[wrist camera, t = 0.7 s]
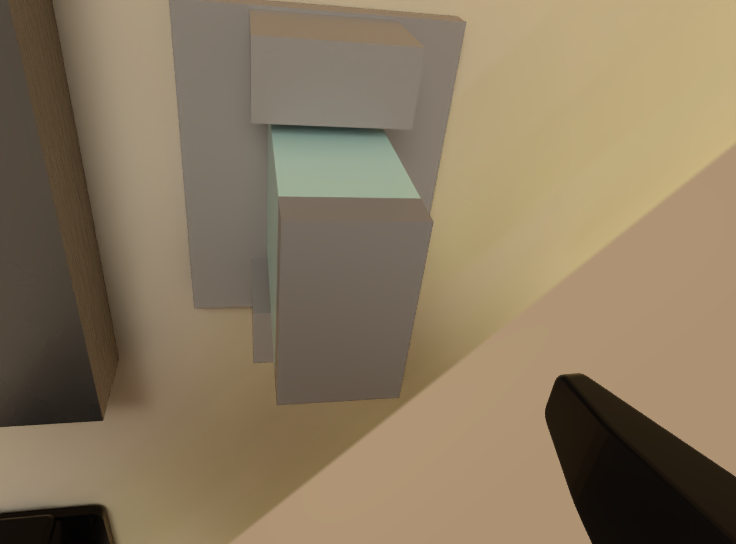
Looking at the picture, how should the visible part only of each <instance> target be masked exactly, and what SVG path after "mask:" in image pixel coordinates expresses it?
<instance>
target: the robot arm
mask: <svg viewBox="0 0 736 544" xmlns="http://www.w3.org/2000/svg"><path fill="white" fill-rule="evenodd" d="M545 418H546V422H547V426H548V429H549V432H550V435H551V437H552V440H553V443H554V446H555V449H556V452H557V455H558V458H559V461H560V464H561V467H562V470H563V473H564V476H565V479H566V482H567V485H568V488H569V491H570V493H571V496H572V499H573V501H574V504H575V507H576V509H577V511H578V514H579V516H580V518H581V520H582V523H583V525H584V527H585V529H586V531H587V534H588V536H589V538H590V540H591V542H592V544H736V477H735V476H734V475H732V474H731V473H729V472H728V471H726V470H725V469H723V468H722V467H720V466H719V465H718V464H716V463H715V462H713V461H712V460H710V459H708V458H707V457H706V456H704V455H703V454H701V453H700V452H698V451H697V450H695V449H694V448H692V447H691V446H689V445H688V444H686V443H685V442H683V441H682V440H681V439H679V438H678V437H676V436H675V435H673V434H672V433H670V432H669V431H667V430H666V429H664V428H663V427H661V426H660V425H658V424H657V423H655V422H654V421H652V420H651V419H649V418H648V417H647V416H645V415H643V414H642V413H641V412H639V411H638V410H636V409H635V408H633V407H632V406H630V405H628V404H627V403H626V402H624V401H623V400H621V399H620V398H618V397H617V396H615V395H614V394H613V393H611V392H610V391H608V390H607V389H605V388H603V387H602V386H601V385H599V384H598V383H596V382H595V381H593V380H592V379H590V378H589V377H587V376H585V375H584V374H580V373H576V374H564V375H560V376H558V377H557V378H556V380H555V383H554V385H553V388H552V391H551V394H550V397H549V400H548V402H547V405H546V409H545ZM0 544H113V540H112V536H111V532H110V529H109V525H108V521H107V517H106V513H105V511H104V509H102V508H101V507H97V506H89V507H78V508H67V509H56V510H45V511H34V512H23V513H12V514H1V515H0Z"/></svg>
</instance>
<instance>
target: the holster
mask: <svg viewBox="0 0 736 544" xmlns="http://www.w3.org/2000/svg"><path fill="white" fill-rule="evenodd" d="M169 6H170V18H171V30H172V42H173V55H174V67H175V79H176V92H177V104H178V116H179V128H180V141H181V153H182V165H183V178H184V190H185V202H186V215H187V227H188V239H189V251H190V264H191V276H192V288H193V301H194V308H232V307H252V322H253V363H267V362H274V354H273V338H272V322H271V307H270V291H269V275H268V259H267V165H268V124H279V125H304V126H329V127H354V128H379V129H383V130H384V132H385V134H386V135H387V137H388V139H389V141H390V143H391V145H392V146H393V148H394V150H395V152H396V154H397V156H398V157H399V159H400V161H401V163H402V165H403V167H404V168H405V170H406V172H407V174H408V176H409V178H410V179H411V181H412V183H413V185H414V187H415V189H416V190H417V192H418V194H419V196H420V198H421V200H422V202H423V203H424V205H425V207H426V209H427V211H428V213H429V214H430V211H431V205H432V200H433V195H434V190H435V184H436V179H437V174H438V168H439V163H440V158H441V153H442V147H443V142H444V137H445V132H446V126H447V121H448V116H449V110H450V105H451V100H452V95H453V89H454V84H455V79H456V73H457V68H458V63H459V58H460V52H461V47H462V42H463V37H464V31H465V26H466V22H465V21H464V20H462V19H461V18H459V17H458V16H446V15H434V14H422V13H410V12H399V11H387V10H375V9H363V8H351V7H339V6H327V5H316V4H304V3H292V2H280V1H268V0H169Z"/></svg>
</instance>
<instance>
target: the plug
mask: <svg viewBox="0 0 736 544" xmlns="http://www.w3.org/2000/svg"><path fill="white" fill-rule="evenodd" d="M432 227H433V220H432V218H431V216H430V214H429V213H428V211H427V209H426V207H425V205H424V203H423V202H422V200H421V198H420V196H419V194H418V192H417V190H416V189H415V187H414V185H413V183H412V181H411V179H410V178H409V176H408V174H407V172H406V170H405V168H404V167H403V165H402V163H401V161H400V159H399V157H398V156H397V154H396V152H395V150H394V148H393V146H392V145H391V143H390V141H389V139H388V137H387V135H386V134H385V132H384V130H383V129H379V128H354V127H329V126H304V125H279V124H268V165H267V259H268V275H269V291H270V307H271V322H272V338H273V354H274V370H275V386H276V402H277V405H287V404H304V403H321V402H337V401H354V400H370V399H387V398H399V396H400V391H401V385H402V380H403V375H404V370H405V365H406V360H407V355H408V350H409V344H410V339H411V334H412V329H413V324H414V319H415V314H416V309H417V303H418V298H419V293H420V288H421V283H422V278H423V273H424V268H425V263H426V257H427V252H428V247H429V242H430V237H431V232H432Z"/></svg>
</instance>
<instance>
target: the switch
mask: <svg viewBox="0 0 736 544" xmlns="http://www.w3.org/2000/svg"><path fill="white" fill-rule="evenodd" d="M118 360H119V358H118V353H117V348H116V342H115V337H114V332H113V326H112V321H111V315H110V310H109V305H108V299H107V294H106V289H105V283H104V278H103V273H102V267H101V262H100V257H99V251H98V246H97V241H96V235H95V230H94V225H93V219H92V214H91V208H90V203H89V198H88V192H87V187H86V182H85V176H84V171H83V166H82V160H81V155H80V150H79V144H78V139H77V134H76V128H75V123H74V118H73V112H72V107H71V102H70V96H69V91H68V85H67V80H66V75H65V69H64V64H63V59H62V53H61V48H60V43H59V37H58V32H57V27H56V21H55V16H54V11H53V5H52V0H0V427H9V426H25V425H41V424H57V423H73V422H89V421H103V419H104V415H105V411H106V407H107V404H108V400H109V396H110V392H111V388H112V384H113V380H114V376H115V372H116V368H117V364H118Z"/></svg>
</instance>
